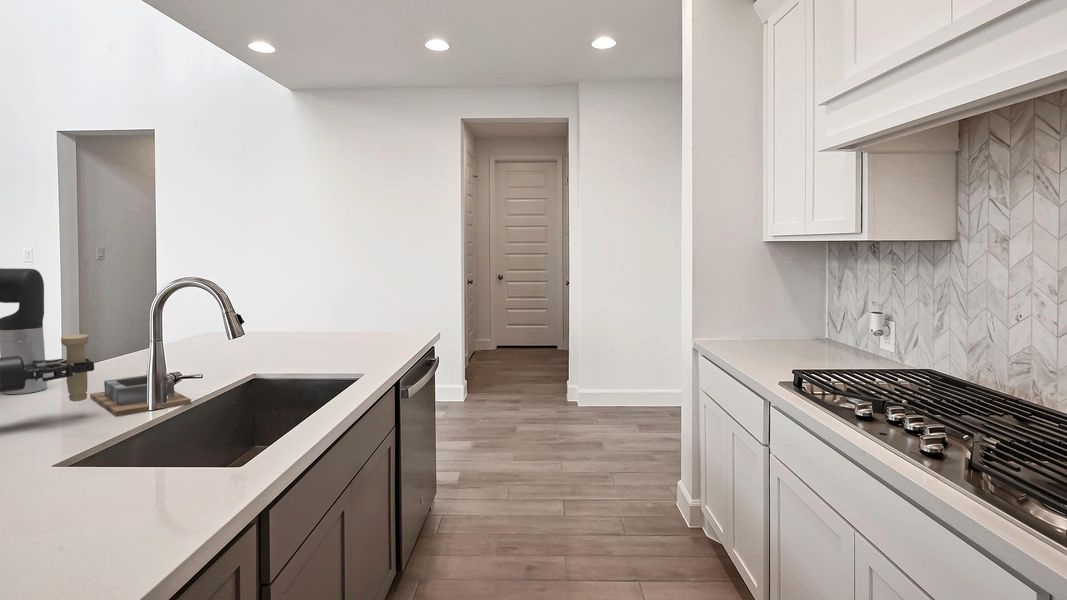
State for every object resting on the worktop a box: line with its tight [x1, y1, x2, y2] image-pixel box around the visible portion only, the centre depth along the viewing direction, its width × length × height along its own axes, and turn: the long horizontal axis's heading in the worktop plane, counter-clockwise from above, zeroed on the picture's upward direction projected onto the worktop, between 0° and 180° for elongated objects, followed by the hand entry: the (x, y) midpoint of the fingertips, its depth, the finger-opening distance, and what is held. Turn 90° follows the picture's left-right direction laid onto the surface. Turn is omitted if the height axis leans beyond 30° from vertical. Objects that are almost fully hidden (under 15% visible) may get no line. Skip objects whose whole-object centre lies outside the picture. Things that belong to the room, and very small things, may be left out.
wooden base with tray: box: [89, 374, 192, 418], centre depth 155 cm, size 24×16×5 cm, turn 48°
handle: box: [60, 333, 89, 402], centre depth 140 cm, size 5×6×15 cm
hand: (91, 364), depth 142 cm, fingers closed on handle, 3 cm apart
